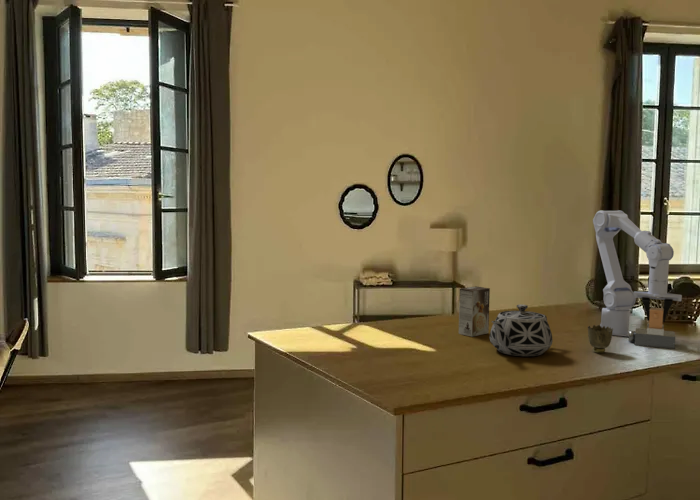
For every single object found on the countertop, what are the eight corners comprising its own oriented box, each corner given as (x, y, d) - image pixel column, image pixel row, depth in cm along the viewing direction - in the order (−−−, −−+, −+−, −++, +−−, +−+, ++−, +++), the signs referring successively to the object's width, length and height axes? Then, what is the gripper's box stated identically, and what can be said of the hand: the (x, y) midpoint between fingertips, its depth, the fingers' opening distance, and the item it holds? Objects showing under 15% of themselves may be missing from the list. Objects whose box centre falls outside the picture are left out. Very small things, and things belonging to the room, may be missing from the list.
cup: (599, 356, 218) (600, 330, 217) (581, 350, 224) (582, 326, 223) (616, 353, 221) (618, 328, 220) (598, 348, 228) (599, 324, 227)
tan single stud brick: (648, 328, 232) (649, 310, 231) (649, 325, 237) (650, 307, 236) (662, 329, 230) (663, 311, 229) (662, 326, 235) (663, 308, 234)
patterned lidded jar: (464, 354, 217) (465, 306, 215) (518, 340, 238) (520, 296, 237) (518, 367, 203) (520, 316, 202) (570, 350, 225) (572, 303, 223)
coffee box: (474, 330, 252) (476, 285, 250) (488, 333, 247) (490, 288, 245) (457, 333, 246) (459, 288, 244) (472, 337, 241) (473, 290, 239)
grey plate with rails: (628, 344, 234) (629, 326, 234) (628, 339, 242) (629, 321, 242) (674, 349, 229) (675, 330, 228) (673, 343, 237) (674, 325, 236)
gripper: (634, 280, 232) (631, 320, 233) (683, 283, 226) (680, 325, 228) (634, 277, 239) (632, 317, 240) (682, 280, 233) (679, 321, 234)
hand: (655, 320), depth 234 cm, fingers closed on tan single stud brick, 4 cm apart
